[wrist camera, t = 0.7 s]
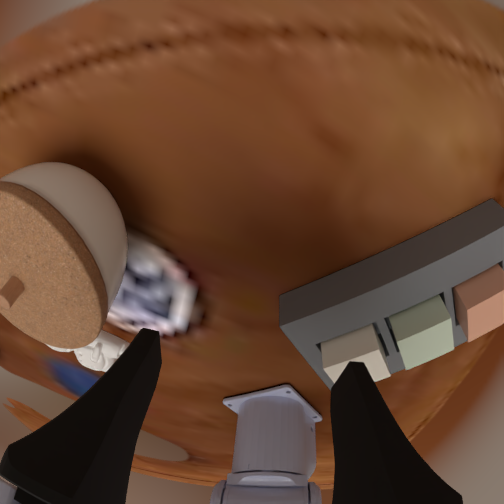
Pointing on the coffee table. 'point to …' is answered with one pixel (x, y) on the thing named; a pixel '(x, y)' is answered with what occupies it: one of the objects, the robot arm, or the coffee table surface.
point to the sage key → (423, 331)
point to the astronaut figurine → (99, 351)
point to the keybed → (394, 285)
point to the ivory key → (355, 353)
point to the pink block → (480, 302)
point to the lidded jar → (59, 253)
